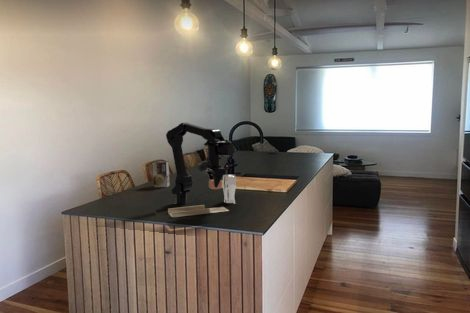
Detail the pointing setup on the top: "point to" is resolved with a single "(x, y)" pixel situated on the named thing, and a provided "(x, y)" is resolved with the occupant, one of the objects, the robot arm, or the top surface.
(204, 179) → the top surface
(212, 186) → the block
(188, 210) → the beige open frame tray
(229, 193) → the beer glass
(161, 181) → the coffee box
